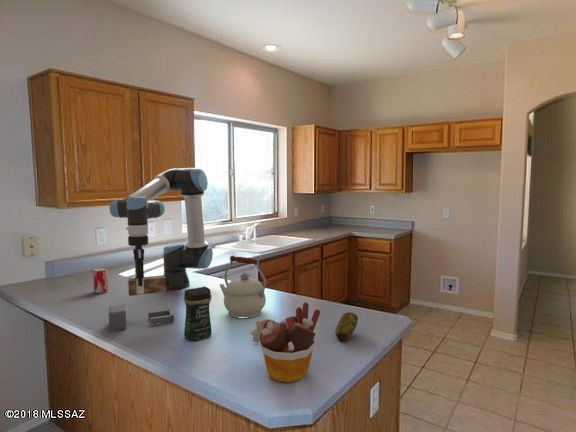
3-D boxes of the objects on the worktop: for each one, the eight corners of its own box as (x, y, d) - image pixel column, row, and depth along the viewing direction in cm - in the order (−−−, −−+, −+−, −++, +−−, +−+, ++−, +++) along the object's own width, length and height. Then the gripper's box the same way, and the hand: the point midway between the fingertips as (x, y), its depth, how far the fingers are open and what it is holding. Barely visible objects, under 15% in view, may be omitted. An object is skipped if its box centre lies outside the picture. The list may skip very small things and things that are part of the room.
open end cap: (170, 314, 163) (170, 309, 163) (173, 321, 155) (173, 315, 155) (148, 317, 159) (148, 312, 159) (150, 325, 151) (150, 319, 151)
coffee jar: (190, 343, 134) (188, 292, 132) (181, 336, 140) (180, 287, 138) (215, 337, 140) (214, 288, 138) (205, 330, 146) (204, 283, 144)
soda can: (102, 294, 192) (101, 271, 191) (90, 293, 194) (89, 270, 193) (111, 290, 199) (110, 268, 198) (99, 289, 201) (98, 267, 199)
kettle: (277, 311, 167) (276, 256, 165) (252, 324, 152) (252, 264, 149) (232, 302, 180) (232, 250, 178) (206, 313, 164) (205, 257, 162)
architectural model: (250, 343, 135) (249, 323, 135) (262, 336, 141) (262, 317, 140) (256, 345, 133) (256, 325, 132) (269, 339, 139) (269, 319, 138)
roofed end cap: (125, 321, 155) (124, 304, 154) (126, 328, 147) (125, 310, 147) (109, 323, 153) (108, 306, 152) (109, 331, 145) (108, 313, 144)
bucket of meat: (285, 397, 100) (285, 325, 98) (245, 376, 112) (244, 311, 110) (330, 370, 115) (331, 307, 113) (291, 353, 126) (291, 295, 124)
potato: (326, 338, 139) (326, 317, 138) (346, 328, 148) (347, 308, 147) (344, 344, 133) (345, 323, 132) (364, 334, 142) (365, 313, 141)
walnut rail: (164, 289, 159) (164, 275, 158) (166, 291, 155) (165, 277, 154) (128, 293, 153) (128, 278, 152) (129, 296, 149) (128, 281, 148)
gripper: (127, 233, 157) (129, 287, 159) (128, 238, 141) (131, 299, 143) (146, 232, 160) (148, 285, 162) (150, 237, 144) (151, 296, 146)
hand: (140, 291), depth 153 cm, fingers closed on walnut rail, 5 cm apart
